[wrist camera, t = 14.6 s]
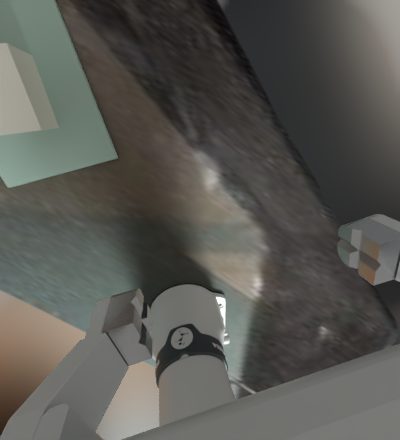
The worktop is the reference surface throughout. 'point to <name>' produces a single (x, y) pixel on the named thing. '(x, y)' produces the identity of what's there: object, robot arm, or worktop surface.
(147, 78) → the worktop surface
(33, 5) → the mat
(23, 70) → the card box
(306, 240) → the worktop surface
